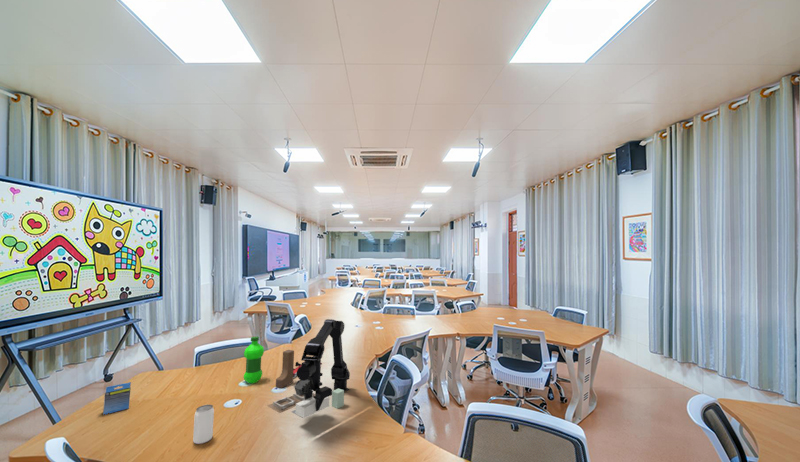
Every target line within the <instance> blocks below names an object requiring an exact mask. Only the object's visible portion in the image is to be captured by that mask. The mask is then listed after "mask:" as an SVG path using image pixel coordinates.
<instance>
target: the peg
mask: <svg viewBox="0 0 800 462" xmlns="http://www.w3.org/2000/svg"><path fill="white" fill-rule="evenodd" d="M344 406H345V392H344V390H342V389H339V388H338V389H336V390H334V389H332V395H331V407H332V408H335V409H337V410H338V409H339V408H343V407H344Z"/></svg>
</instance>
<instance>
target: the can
mask: <svg viewBox="0 0 800 462" xmlns="http://www.w3.org/2000/svg"><path fill="white" fill-rule="evenodd" d="M195 410H196V411H195V412H194V420H193V421H194V422H193V436H192V437H193V439H192V441H193V443H194V444H195V445H202V444H205V443H208V442H209V441H210V440H212V438H213V434H214V433H213V432H214V418H215V417H214V416H215V409H214V406H213V404H203V405H201V406H198V407H197V408H196V409H195Z"/></svg>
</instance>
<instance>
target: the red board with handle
mask: <svg viewBox="0 0 800 462" xmlns="http://www.w3.org/2000/svg"><path fill="white" fill-rule="evenodd" d="M301 364H302V363H299V361H296V362H295V363H294V367H296V368H294V367H293V379H294V378H296V377H297V370H298V368H299V367H300V366H301ZM321 365H322V362H321Z"/></svg>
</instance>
